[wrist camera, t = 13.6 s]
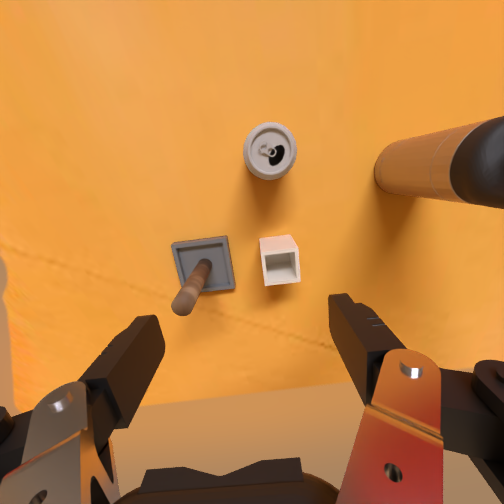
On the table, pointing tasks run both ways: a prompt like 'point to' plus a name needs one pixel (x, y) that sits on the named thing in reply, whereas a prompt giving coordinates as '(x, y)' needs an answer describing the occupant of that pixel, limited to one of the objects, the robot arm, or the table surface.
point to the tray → (208, 248)
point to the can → (270, 151)
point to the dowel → (191, 288)
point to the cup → (279, 260)
